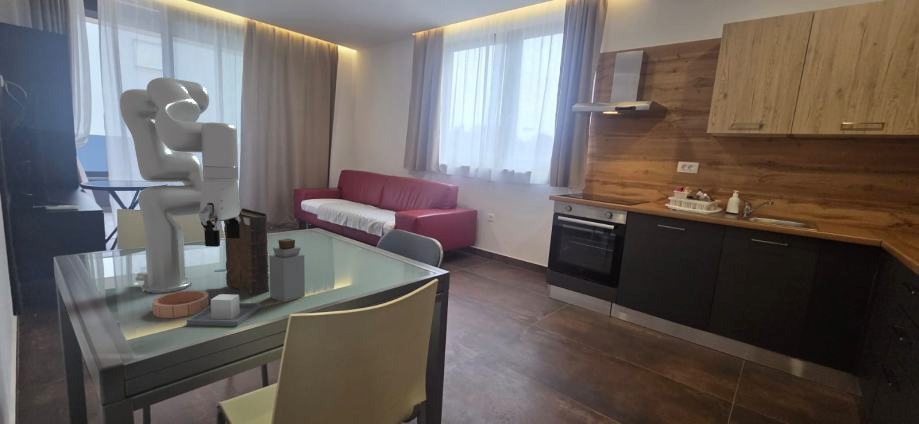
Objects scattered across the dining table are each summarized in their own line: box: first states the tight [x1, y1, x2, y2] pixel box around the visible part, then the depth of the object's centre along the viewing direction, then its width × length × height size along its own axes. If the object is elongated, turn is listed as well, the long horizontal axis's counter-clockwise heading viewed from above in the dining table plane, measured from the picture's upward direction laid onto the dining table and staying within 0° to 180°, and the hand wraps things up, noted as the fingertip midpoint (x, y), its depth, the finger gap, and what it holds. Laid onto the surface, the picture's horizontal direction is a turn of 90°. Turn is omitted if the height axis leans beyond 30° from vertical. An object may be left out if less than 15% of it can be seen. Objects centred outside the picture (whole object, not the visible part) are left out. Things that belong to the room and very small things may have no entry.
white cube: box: [210, 293, 240, 319], centre depth 102 cm, size 5×4×5 cm
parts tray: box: [186, 302, 261, 327], centre depth 102 cm, size 12×12×2 cm
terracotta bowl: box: [152, 289, 210, 319], centre depth 105 cm, size 12×12×4 cm
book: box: [223, 207, 270, 295], centre depth 122 cm, size 17×7×25 cm, turn 50°
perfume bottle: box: [268, 238, 306, 303], centre depth 116 cm, size 7×7×18 cm
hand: (223, 242), depth 100 cm, fingers open, 9 cm apart
